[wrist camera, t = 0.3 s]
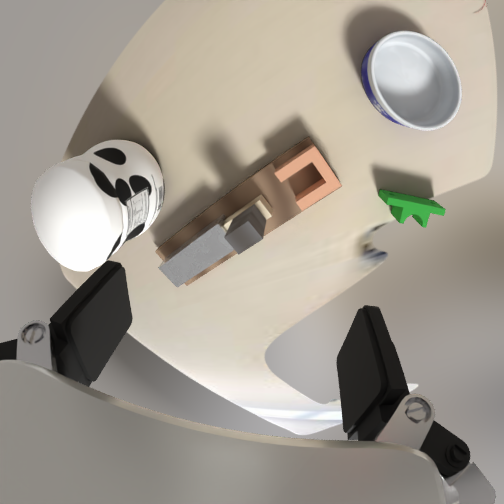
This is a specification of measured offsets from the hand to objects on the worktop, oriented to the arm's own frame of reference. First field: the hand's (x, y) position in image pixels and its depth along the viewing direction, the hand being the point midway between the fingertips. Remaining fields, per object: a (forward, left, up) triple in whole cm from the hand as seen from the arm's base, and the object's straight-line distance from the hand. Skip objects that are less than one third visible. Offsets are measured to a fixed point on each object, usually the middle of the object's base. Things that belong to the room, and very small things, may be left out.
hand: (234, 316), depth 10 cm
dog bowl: (+1, +25, -36) cm, 44 cm away
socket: (+5, +3, -34) cm, 34 cm away
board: (+5, -11, -35) cm, 37 cm away
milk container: (-13, -23, -36) cm, 44 cm away
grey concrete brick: (+5, -19, -34) cm, 39 cm away
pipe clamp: (+18, +14, -36) cm, 43 cm away
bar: (+5, -15, -34) cm, 37 cm away
